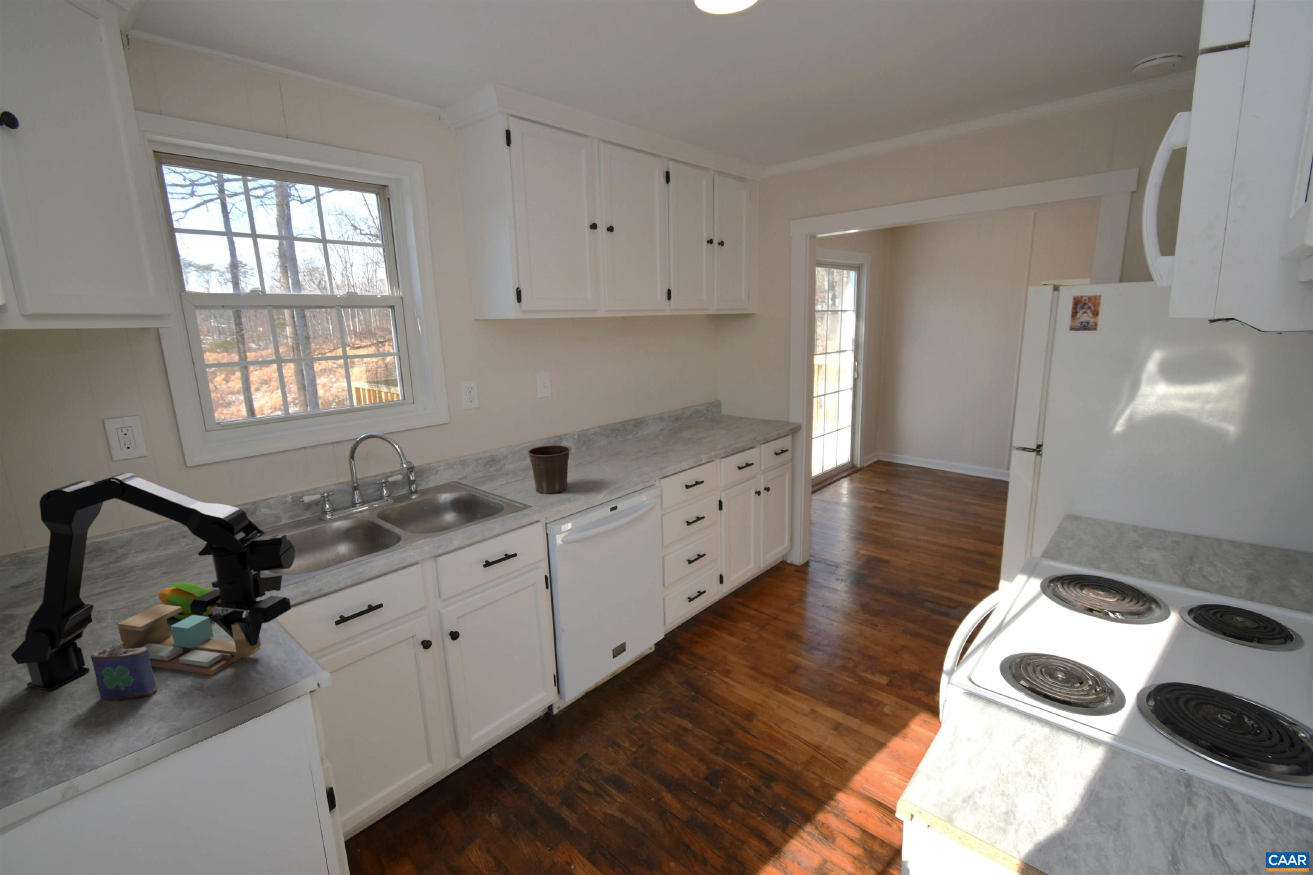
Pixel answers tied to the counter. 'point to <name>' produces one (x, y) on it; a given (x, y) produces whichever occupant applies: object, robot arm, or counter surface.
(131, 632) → the board
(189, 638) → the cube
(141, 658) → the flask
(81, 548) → the robot arm
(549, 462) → the plant pot
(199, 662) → the strip
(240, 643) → the strip
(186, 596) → the corn
